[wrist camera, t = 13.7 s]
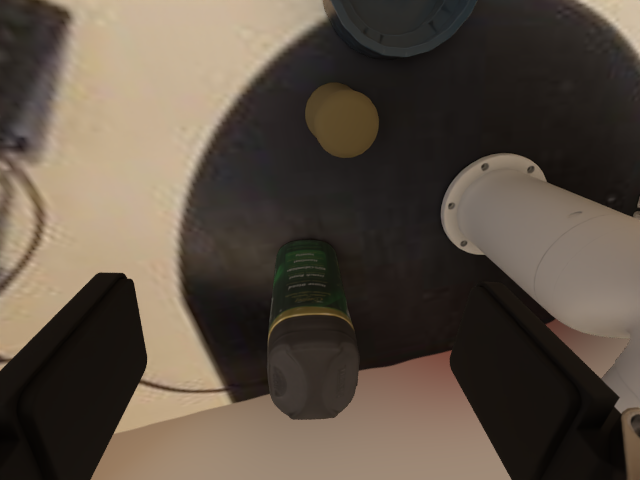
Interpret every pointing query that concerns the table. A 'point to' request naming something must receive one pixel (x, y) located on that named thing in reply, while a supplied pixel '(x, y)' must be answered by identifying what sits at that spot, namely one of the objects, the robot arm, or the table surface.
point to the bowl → (396, 24)
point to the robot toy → (638, 214)
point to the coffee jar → (310, 334)
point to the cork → (342, 119)
